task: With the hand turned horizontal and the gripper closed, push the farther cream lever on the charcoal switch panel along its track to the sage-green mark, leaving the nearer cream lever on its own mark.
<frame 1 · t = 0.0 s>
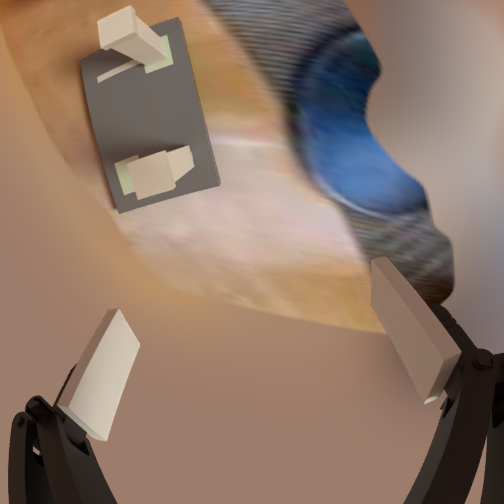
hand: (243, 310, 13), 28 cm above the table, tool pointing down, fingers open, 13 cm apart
switch panel: (146, 113, 33), on the table
lever 1: (138, 41, 21), point 9 cm above the table, slide at 8.0 cm
lever 2: (168, 165, 28), point 9 cm above the table, slide at 8.0 cm
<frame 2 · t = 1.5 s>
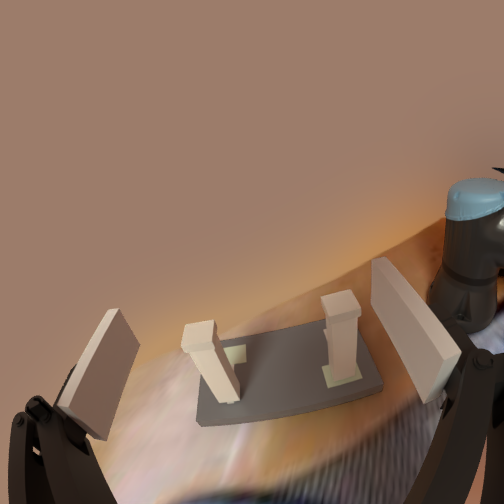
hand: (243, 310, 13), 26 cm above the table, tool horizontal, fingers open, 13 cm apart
switch panel: (284, 372, 39), on the table
lever 1: (341, 341, 31), point 9 cm above the table, slide at 8.0 cm
lever 2: (215, 367, 32), point 9 cm above the table, slide at 8.0 cm
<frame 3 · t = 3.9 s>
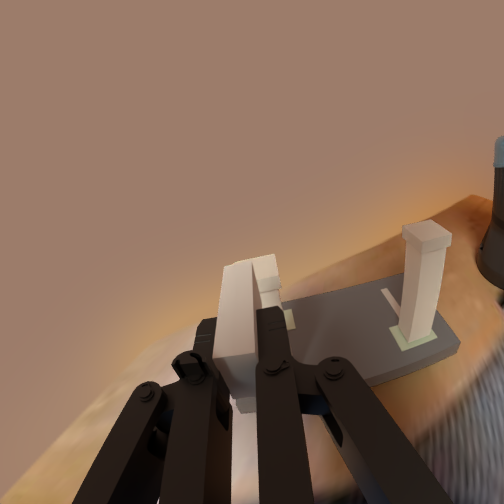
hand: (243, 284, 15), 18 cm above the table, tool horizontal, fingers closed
switch panel: (342, 340, 32), on the table
lever 1: (421, 286, 24), point 9 cm above the table, slide at 8.0 cm
lever 2: (269, 325, 25), point 9 cm above the table, slide at 8.0 cm
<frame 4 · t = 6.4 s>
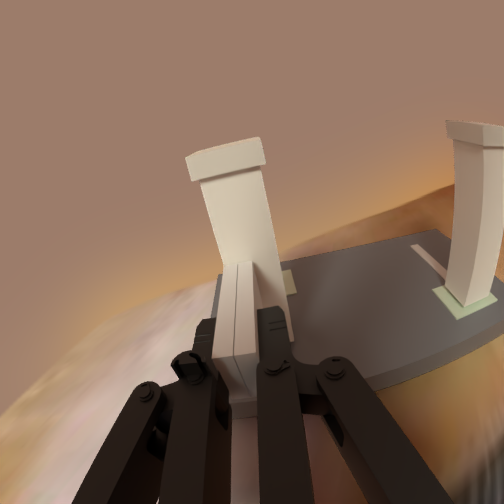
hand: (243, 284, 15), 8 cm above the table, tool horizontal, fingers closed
switch panel: (365, 311, 22), on the table
lever 1: (479, 215, 13), point 9 cm above the table, slide at 8.0 cm
lever 2: (251, 252, 16), point 9 cm above the table, slide at 6.5 cm, touching gripper
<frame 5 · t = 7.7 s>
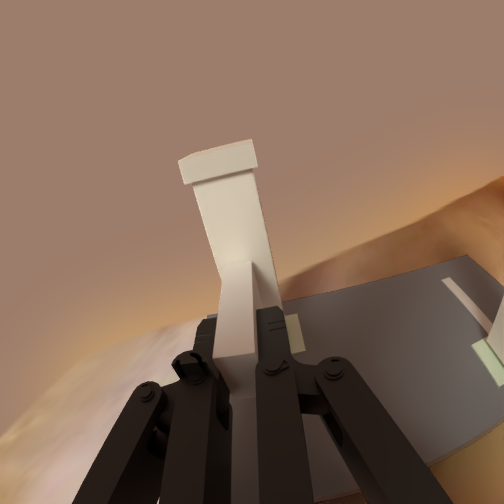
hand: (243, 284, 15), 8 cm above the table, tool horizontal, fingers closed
switch panel: (389, 370, 16), on the table
lever 2: (245, 254, 16), point 9 cm above the table, slide at -0.2 cm, touching gripper
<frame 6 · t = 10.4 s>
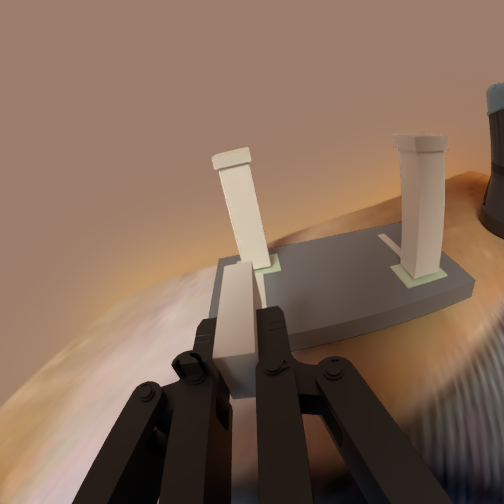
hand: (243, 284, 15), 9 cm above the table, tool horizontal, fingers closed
switch panel: (336, 285, 28), on the table
lever 1: (422, 205, 20), point 9 cm above the table, slide at 8.0 cm
lever 2: (244, 210, 29), point 9 cm above the table, slide at 0.0 cm
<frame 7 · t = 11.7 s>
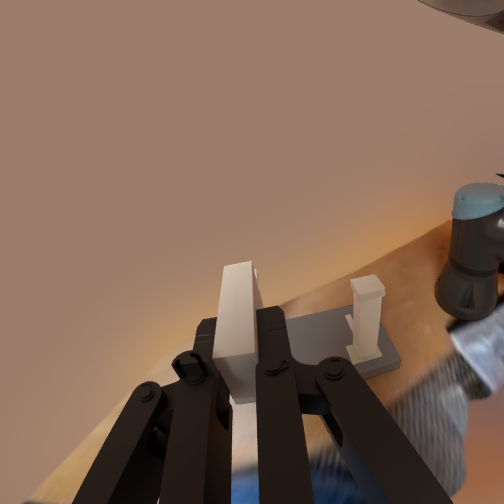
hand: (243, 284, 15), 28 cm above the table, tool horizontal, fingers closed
switch panel: (311, 353, 43), on the table
lever 1: (366, 320, 35), point 9 cm above the table, slide at 8.0 cm
lever 2: (253, 309, 44), point 9 cm above the table, slide at 0.0 cm
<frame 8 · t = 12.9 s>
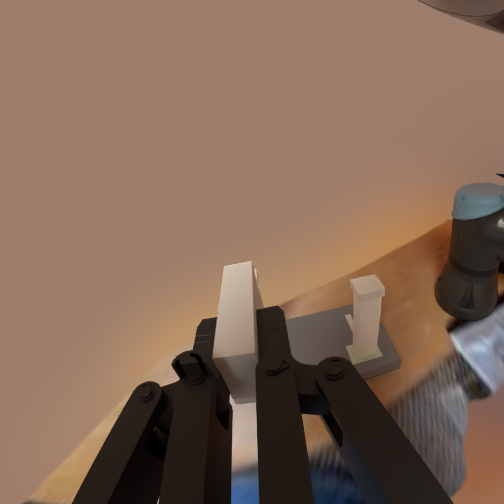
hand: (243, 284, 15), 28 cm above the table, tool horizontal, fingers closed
switch panel: (311, 353, 43), on the table
lever 1: (366, 320, 35), point 9 cm above the table, slide at 8.0 cm
lever 2: (254, 309, 44), point 9 cm above the table, slide at 0.0 cm
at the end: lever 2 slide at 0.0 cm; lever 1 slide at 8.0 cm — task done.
